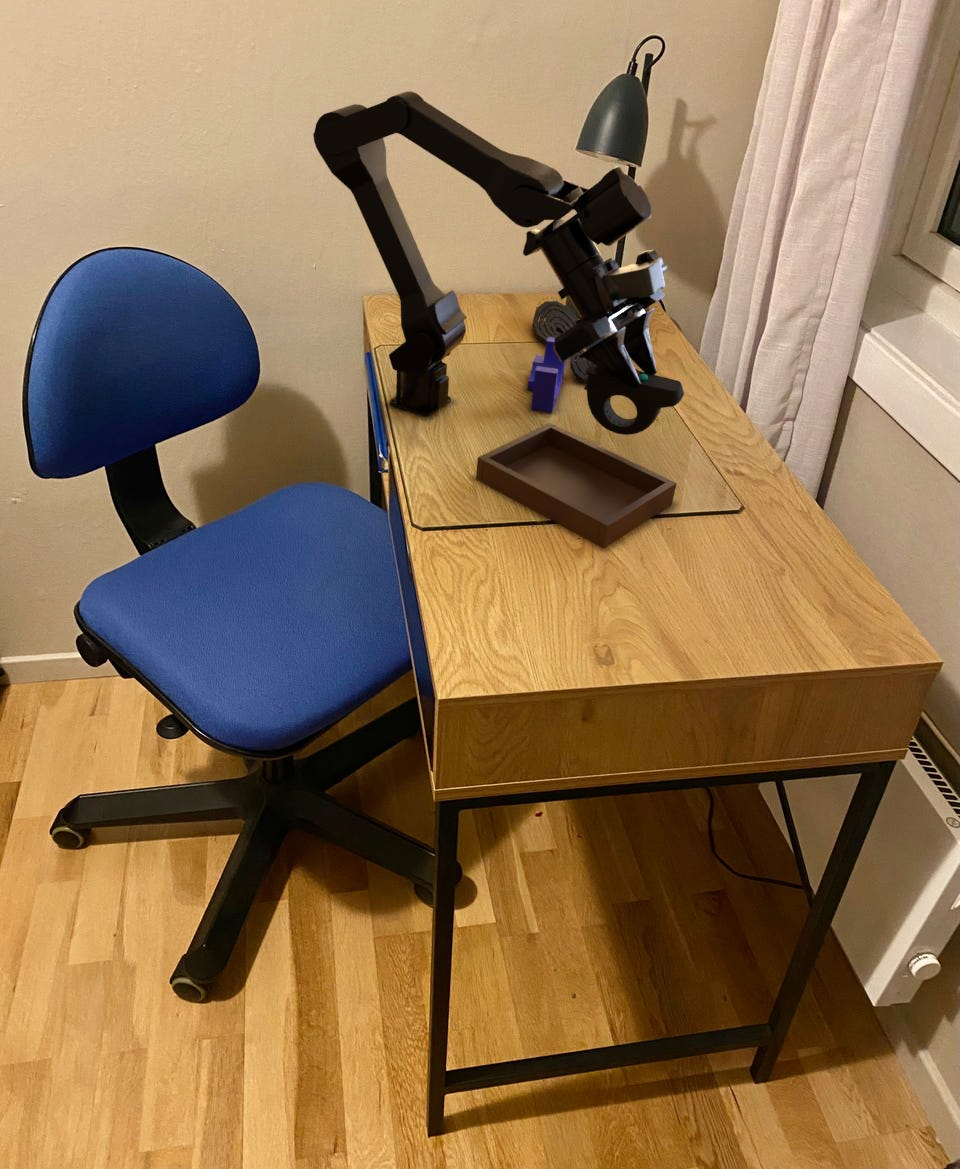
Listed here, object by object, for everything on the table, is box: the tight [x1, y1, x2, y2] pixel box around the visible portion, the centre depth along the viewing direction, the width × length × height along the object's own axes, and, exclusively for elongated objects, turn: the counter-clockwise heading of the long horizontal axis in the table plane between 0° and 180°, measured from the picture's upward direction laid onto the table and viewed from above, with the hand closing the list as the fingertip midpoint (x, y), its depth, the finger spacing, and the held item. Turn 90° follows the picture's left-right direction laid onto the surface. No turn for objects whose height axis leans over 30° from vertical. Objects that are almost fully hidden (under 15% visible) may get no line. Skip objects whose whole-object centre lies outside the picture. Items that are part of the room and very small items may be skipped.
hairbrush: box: [531, 297, 592, 385], centre depth 151 cm, size 8×4×25 cm
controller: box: [583, 363, 685, 436], centre depth 118 cm, size 4×12×10 cm, turn 64°
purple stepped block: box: [527, 337, 566, 414], centre depth 138 cm, size 12×4×6 cm, turn 169°
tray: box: [475, 422, 677, 549], centre depth 117 cm, size 20×14×3 cm
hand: (645, 381), depth 116 cm, fingers closed on controller, 4 cm apart
